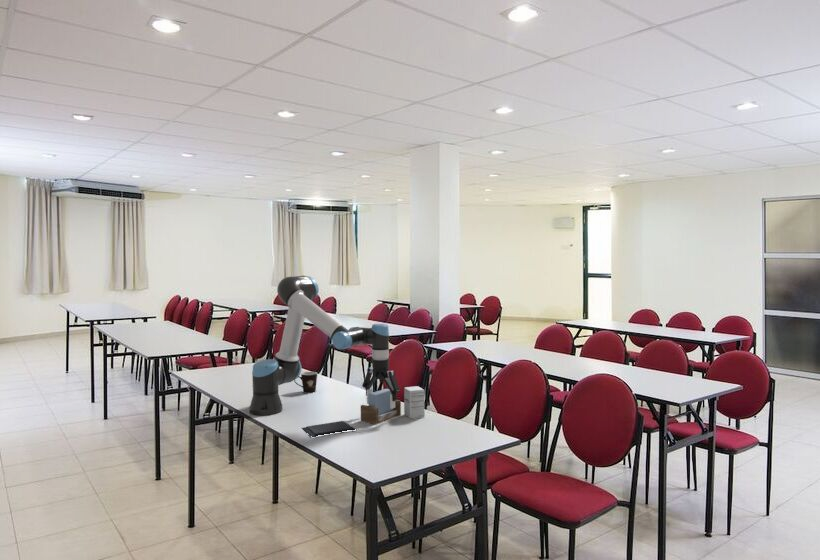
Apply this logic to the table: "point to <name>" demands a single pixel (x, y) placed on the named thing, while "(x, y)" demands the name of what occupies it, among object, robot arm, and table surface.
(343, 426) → the wallet
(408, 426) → the table surface
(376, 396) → the blue-grey rectangular block
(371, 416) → the track frame
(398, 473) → the table surface
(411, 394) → the supplement box
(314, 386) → the coffee mug
